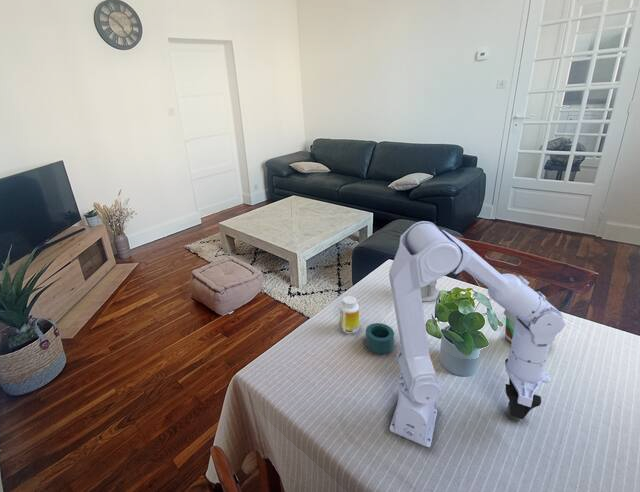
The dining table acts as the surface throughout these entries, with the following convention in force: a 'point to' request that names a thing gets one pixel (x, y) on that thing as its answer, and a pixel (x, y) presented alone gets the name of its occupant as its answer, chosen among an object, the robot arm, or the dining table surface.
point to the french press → (429, 292)
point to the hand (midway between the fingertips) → (516, 404)
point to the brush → (510, 415)
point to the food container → (509, 326)
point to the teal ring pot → (379, 338)
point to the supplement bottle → (349, 315)
